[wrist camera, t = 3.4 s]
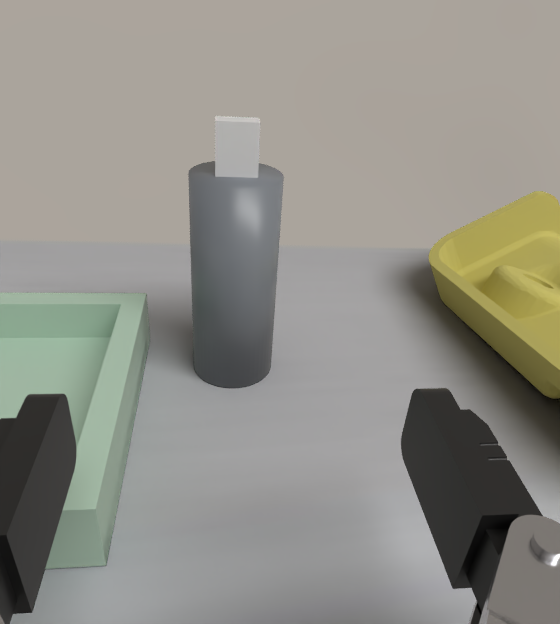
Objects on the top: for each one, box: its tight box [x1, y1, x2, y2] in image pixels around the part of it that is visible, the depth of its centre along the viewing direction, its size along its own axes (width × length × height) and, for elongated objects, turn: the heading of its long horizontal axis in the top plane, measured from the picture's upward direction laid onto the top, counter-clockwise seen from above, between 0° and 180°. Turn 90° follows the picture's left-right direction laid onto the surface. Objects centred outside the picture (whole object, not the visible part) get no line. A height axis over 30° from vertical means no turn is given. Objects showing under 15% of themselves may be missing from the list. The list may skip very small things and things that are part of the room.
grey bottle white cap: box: [189, 116, 283, 388], centre depth 22 cm, size 4×4×11 cm
